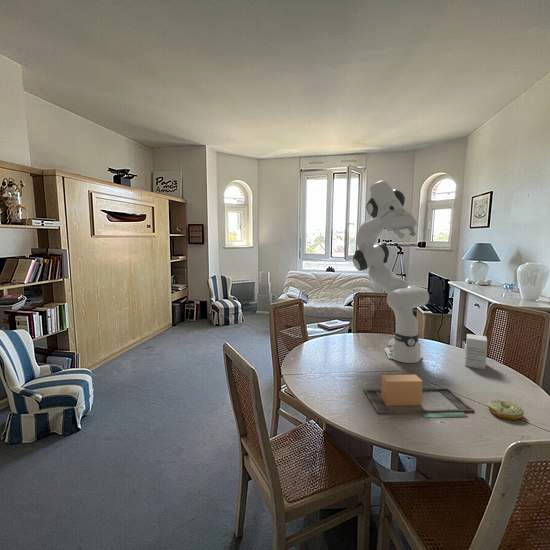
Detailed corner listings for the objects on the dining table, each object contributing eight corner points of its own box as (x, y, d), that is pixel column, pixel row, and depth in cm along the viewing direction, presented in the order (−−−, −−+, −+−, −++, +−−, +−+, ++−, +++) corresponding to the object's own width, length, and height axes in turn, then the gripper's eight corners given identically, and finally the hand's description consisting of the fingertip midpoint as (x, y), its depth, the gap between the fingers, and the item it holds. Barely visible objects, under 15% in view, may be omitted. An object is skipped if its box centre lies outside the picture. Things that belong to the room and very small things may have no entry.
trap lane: (361, 387, 141) (361, 386, 141) (444, 386, 142) (444, 384, 142) (380, 418, 117) (380, 416, 117) (479, 416, 118) (479, 414, 118)
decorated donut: (482, 406, 126) (482, 397, 125) (510, 406, 125) (510, 397, 125) (499, 421, 116) (499, 411, 115) (529, 422, 115) (530, 412, 115)
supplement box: (464, 360, 172) (466, 333, 170) (484, 363, 167) (486, 335, 165) (464, 366, 164) (466, 338, 162) (485, 369, 159) (487, 340, 158)
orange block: (381, 398, 132) (381, 375, 131) (414, 397, 133) (415, 374, 131) (386, 405, 126) (387, 381, 125) (421, 405, 127) (422, 381, 125)
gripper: (400, 214, 155) (415, 238, 151) (374, 216, 143) (389, 242, 139) (411, 206, 150) (426, 230, 146) (385, 207, 138) (401, 234, 134)
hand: (408, 236), depth 143 cm, fingers open, 8 cm apart
